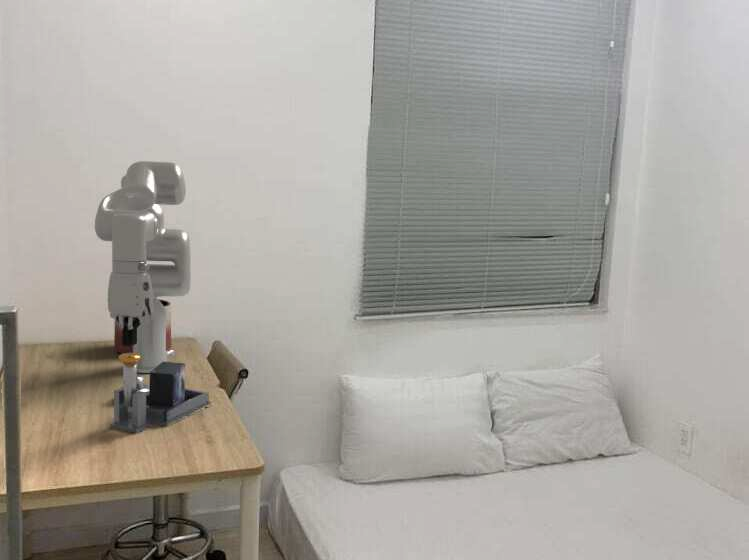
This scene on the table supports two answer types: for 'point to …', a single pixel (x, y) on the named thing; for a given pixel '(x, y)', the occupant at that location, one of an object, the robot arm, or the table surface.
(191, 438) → the table surface
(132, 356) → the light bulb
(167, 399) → the small box
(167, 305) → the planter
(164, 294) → the robot arm
